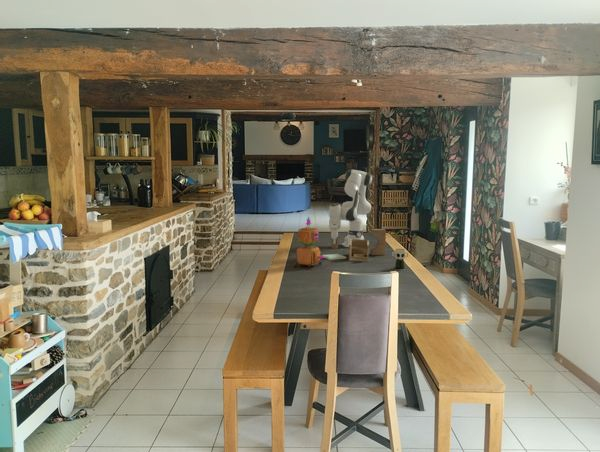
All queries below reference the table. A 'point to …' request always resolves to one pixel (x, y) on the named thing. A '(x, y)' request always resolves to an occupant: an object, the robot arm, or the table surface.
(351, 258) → the oak cubby
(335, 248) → the walnut block
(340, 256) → the sage board
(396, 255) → the character mug
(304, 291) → the table surface
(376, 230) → the decorative block
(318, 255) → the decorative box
